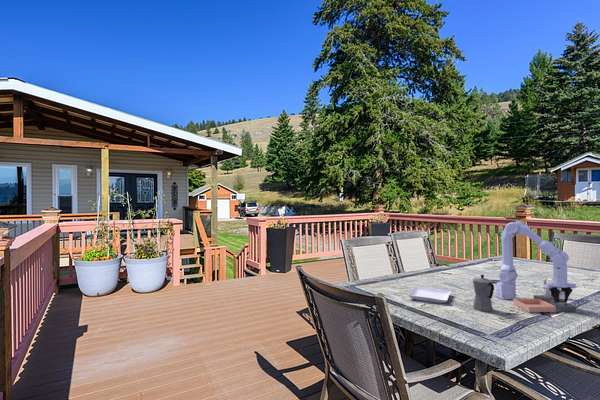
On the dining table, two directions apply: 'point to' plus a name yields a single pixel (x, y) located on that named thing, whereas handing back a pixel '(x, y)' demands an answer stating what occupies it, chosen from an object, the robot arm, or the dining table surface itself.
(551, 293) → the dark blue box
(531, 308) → the parts tray
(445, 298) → the salad plate
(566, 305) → the fuse holder
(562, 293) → the cylinder
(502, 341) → the dining table surface
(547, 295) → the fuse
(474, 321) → the dining table surface
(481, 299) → the coffeepot
